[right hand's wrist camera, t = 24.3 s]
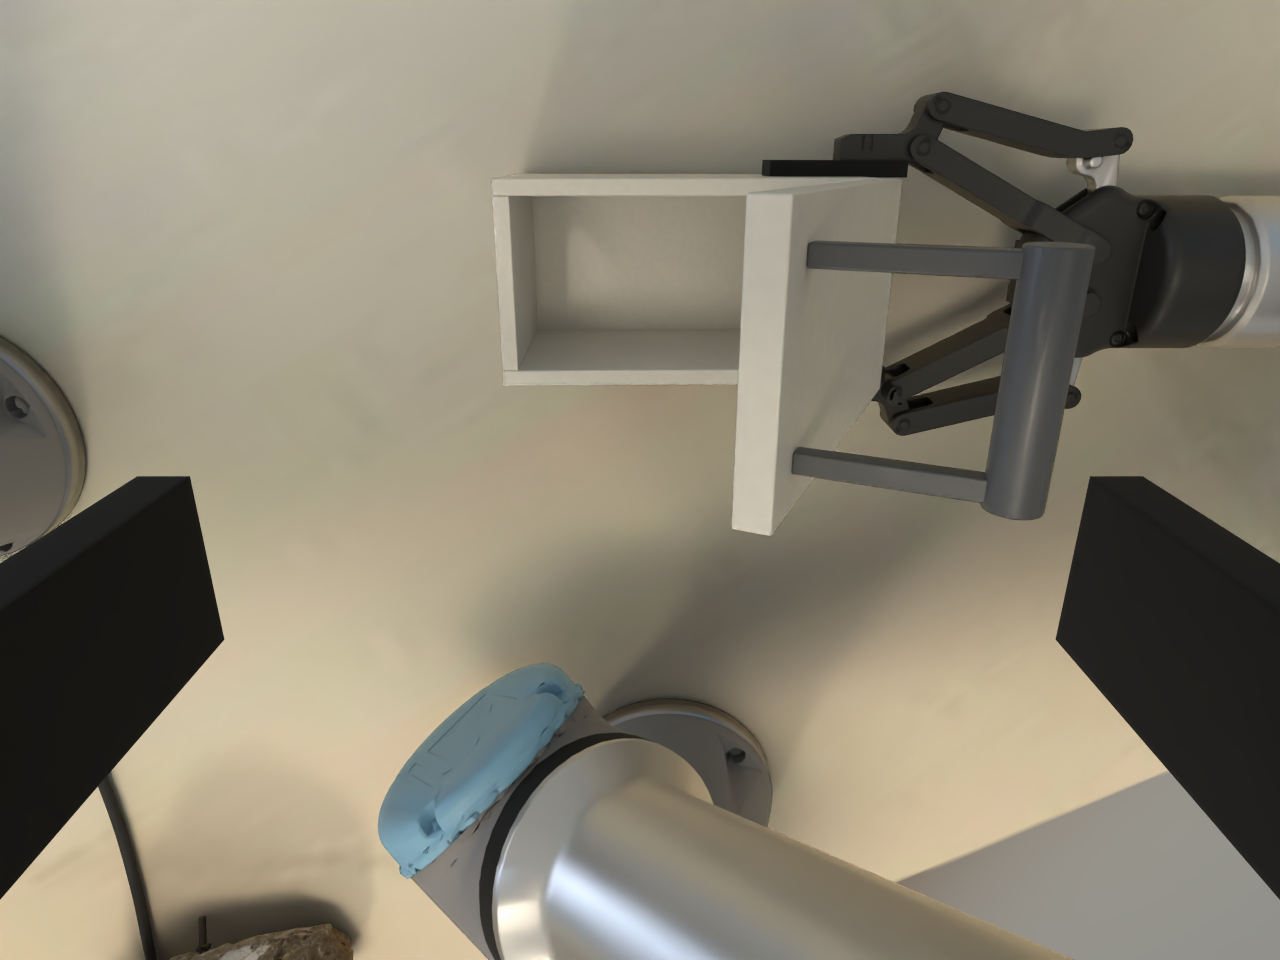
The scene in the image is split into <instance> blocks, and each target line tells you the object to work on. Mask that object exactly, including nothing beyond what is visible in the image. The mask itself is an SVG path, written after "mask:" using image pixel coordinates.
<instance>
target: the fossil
mask: <svg viewBox="0 0 1280 960" xmlns="http://www.w3.org/2000/svg"><path fill="white" fill-rule="evenodd" d="M211 945H212V944H209V943H207V933H206V917H205V916H201V917H199V947H198V948H197V950H196V951H198V952H200V954H195V953H192V952H188V953H184V954H181V955H178V956H174V957H173V958H171V959H170V960H353V950H352V949H351V943H350V938H349V937H348V936H347V935H346V934H344V933H342V932H340V931H338V930H337V929H336V928H333V927H332V925H331V924H322V925H316V926H311V927H303V928H294V929H290V930H285V931H279V932H272V933H267V934H263V935H257V936H254V937H250V938H246V939H244V940H241V941H239V942H237V943H235V944H231V943H226V944H224V945H221V946H219V947H217V948H214V949H212V950H209V949H210V948H211ZM208 950H209V951H208Z"/></svg>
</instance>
